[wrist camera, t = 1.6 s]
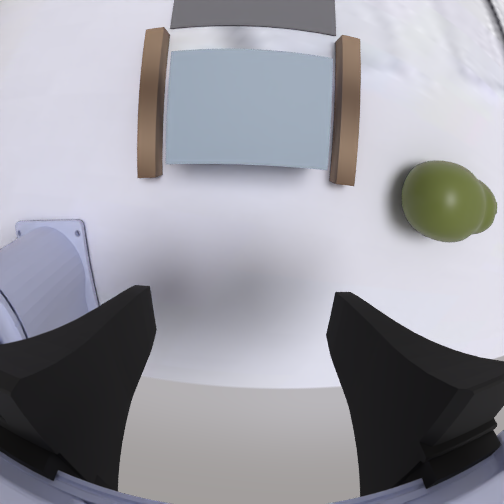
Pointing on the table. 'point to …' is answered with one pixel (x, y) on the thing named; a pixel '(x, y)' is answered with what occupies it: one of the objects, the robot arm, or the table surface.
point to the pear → (447, 201)
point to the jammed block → (249, 108)
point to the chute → (343, 111)
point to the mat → (257, 14)
